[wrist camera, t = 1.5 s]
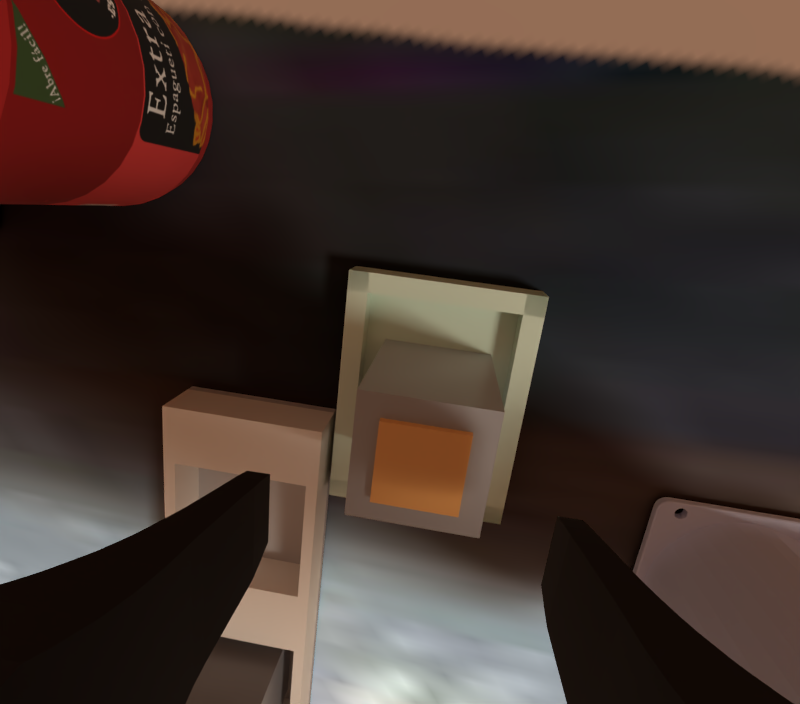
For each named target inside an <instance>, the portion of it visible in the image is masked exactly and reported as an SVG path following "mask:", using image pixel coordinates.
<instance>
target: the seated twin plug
mask: <svg viewBox="0 0 800 704" xmlns="http://www.w3.org/2000/svg"><path fill="white" fill-rule="evenodd" d="M290 654H291V651H290V650H285V649H280V648H275V647H270V646H265V645H260V644H255V643H250V642H245V641H240V640H235V639H230V638H225V637H220V638H219V640H218V642H217V644H216V645H215V647H214V649H213V651H212V652H211V654H210V656H209V658H208V659H207V661H206V663H205V665H204V667H203V669H202V671H201V672H200V674H199V676H198V678H197V680H196V682H195V684H194V686H193V688H192V691H191V693H190V695H189V697H188V699H187V702H186V704H283V702H284V699H285V696H286V693H287V690H288V682H289V668H290Z"/></svg>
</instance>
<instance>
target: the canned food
mask: <svg viewBox="0 0 800 704" xmlns="http://www.w3.org/2000/svg"><path fill="white" fill-rule="evenodd" d="M212 122H213V119H212V97H211V92H210V86H209V81H208V79H207V76H206V73H205V70H204V68H203V65H202V62H201V61H200V59H199V57H198V56H197V54H196V52H195V50H194V49H193V47H192V45H191V43H190V42H189V40H188V38H187V37H186V35H185V33H184V32H183V31H182V30H181V28H180V27H179V26H178V25H177V24H176V22H175V21H174V20H173V19H172V18H171V17H170V15H168V14H167V13H166V12H165V11H164V10H162V9H161V8H160V7H159V6H157V5H156V4H155V3H154V2H153V1H151V0H0V204H24V205H92V206H128V205H136V204H143V203H146V202H148V201H151V200H154V199H157V198H159V197H161V196H163V195H165V194H167V193H168V192H170V191H172V190H173V189H175V188H176V187H178V186H179V185H181V184H182V183H183V182H184V181H185V180H186V179H187V178H188V177H189V176H190V175H191V174H192V173H193V172H194V170H195V169H196V167H197V166H198V164H199V163H200V161H201V159H202V158H203V155H204V153H205V150H206V148H207V145H208V142H209V139H210V133H211V128H212Z"/></svg>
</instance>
